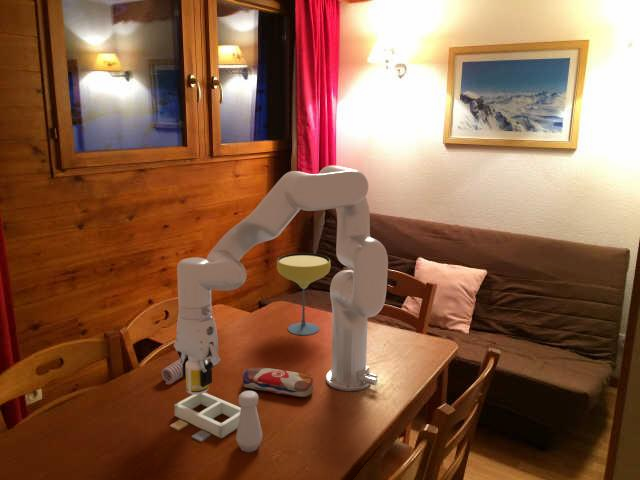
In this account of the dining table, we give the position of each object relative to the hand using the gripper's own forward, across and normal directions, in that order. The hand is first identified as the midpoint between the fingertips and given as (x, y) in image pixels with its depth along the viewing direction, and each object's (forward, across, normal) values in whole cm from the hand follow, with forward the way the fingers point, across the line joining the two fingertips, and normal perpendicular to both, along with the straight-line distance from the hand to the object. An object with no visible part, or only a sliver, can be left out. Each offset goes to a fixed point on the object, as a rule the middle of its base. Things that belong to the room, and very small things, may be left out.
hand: (197, 380), depth 128 cm
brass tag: (+9, 0, +6) cm, 11 cm away
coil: (+10, +20, -14) cm, 26 cm away
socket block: (+9, -4, 0) cm, 10 cm away
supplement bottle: (+3, 0, 0) cm, 3 cm away
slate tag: (+9, -8, +6) cm, 13 cm away
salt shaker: (+9, -19, +2) cm, 21 cm away
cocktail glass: (+9, +11, -58) cm, 60 cm away
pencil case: (+9, -8, -21) cm, 24 cm away
